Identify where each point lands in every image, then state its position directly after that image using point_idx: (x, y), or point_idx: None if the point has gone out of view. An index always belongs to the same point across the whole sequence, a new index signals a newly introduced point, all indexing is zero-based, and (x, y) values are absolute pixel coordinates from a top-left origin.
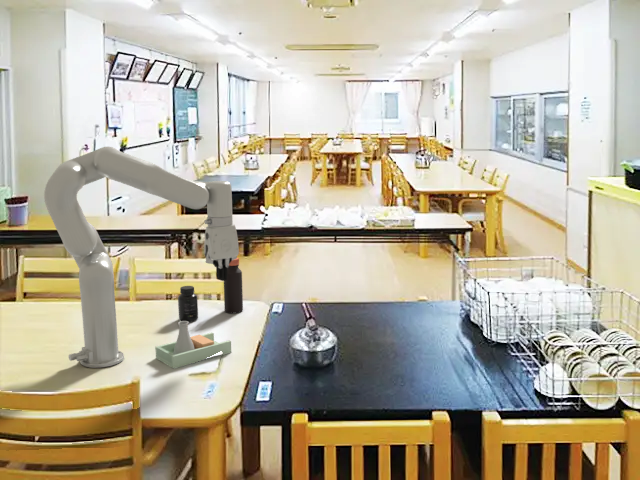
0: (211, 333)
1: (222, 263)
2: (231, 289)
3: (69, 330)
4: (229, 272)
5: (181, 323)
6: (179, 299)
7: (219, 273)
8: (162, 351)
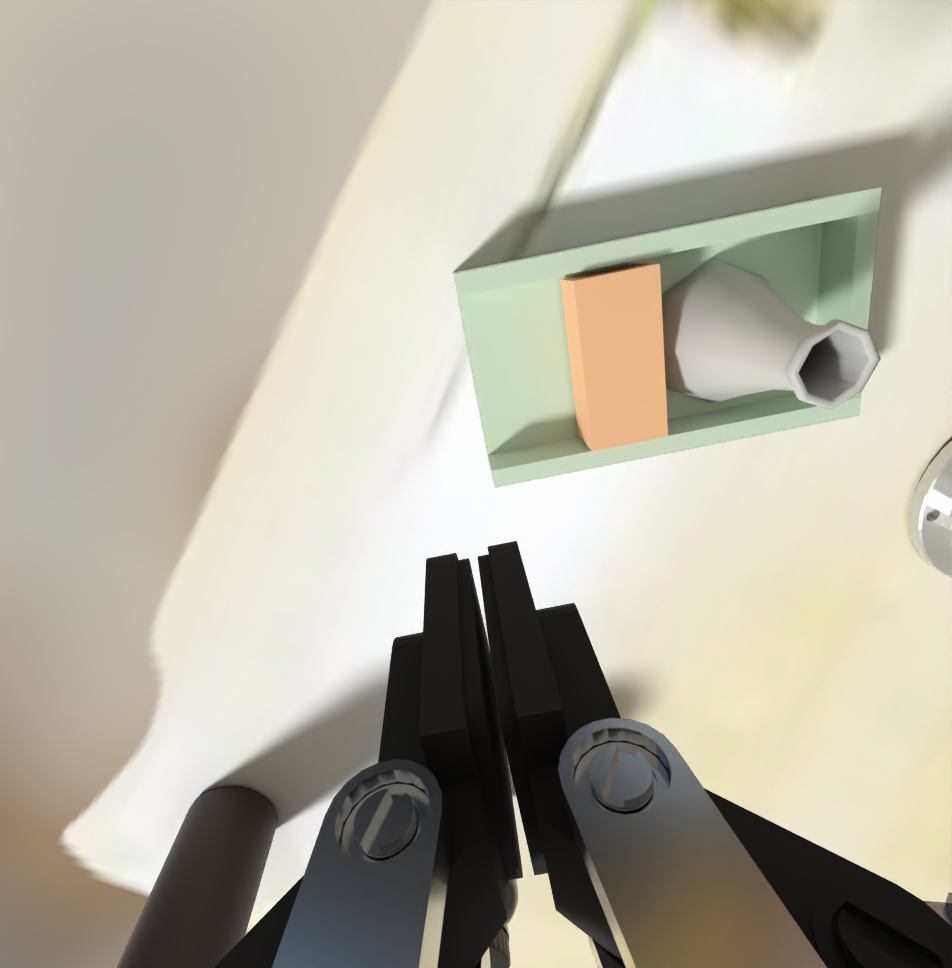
0: (504, 471)
1: (470, 959)
2: (205, 922)
3: (889, 837)
4: None
5: (819, 396)
6: (516, 889)
7: (586, 654)
8: None
